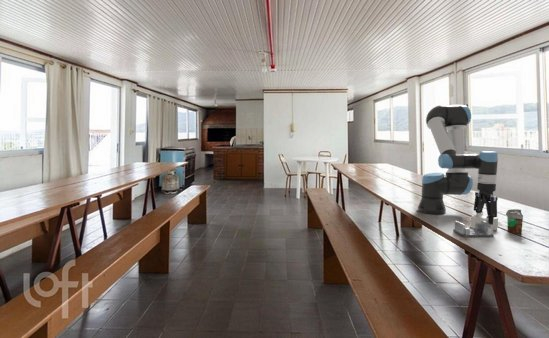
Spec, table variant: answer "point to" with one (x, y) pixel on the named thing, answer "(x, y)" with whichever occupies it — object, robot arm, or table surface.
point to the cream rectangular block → (478, 219)
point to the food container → (514, 221)
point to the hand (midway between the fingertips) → (483, 227)
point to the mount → (481, 229)
